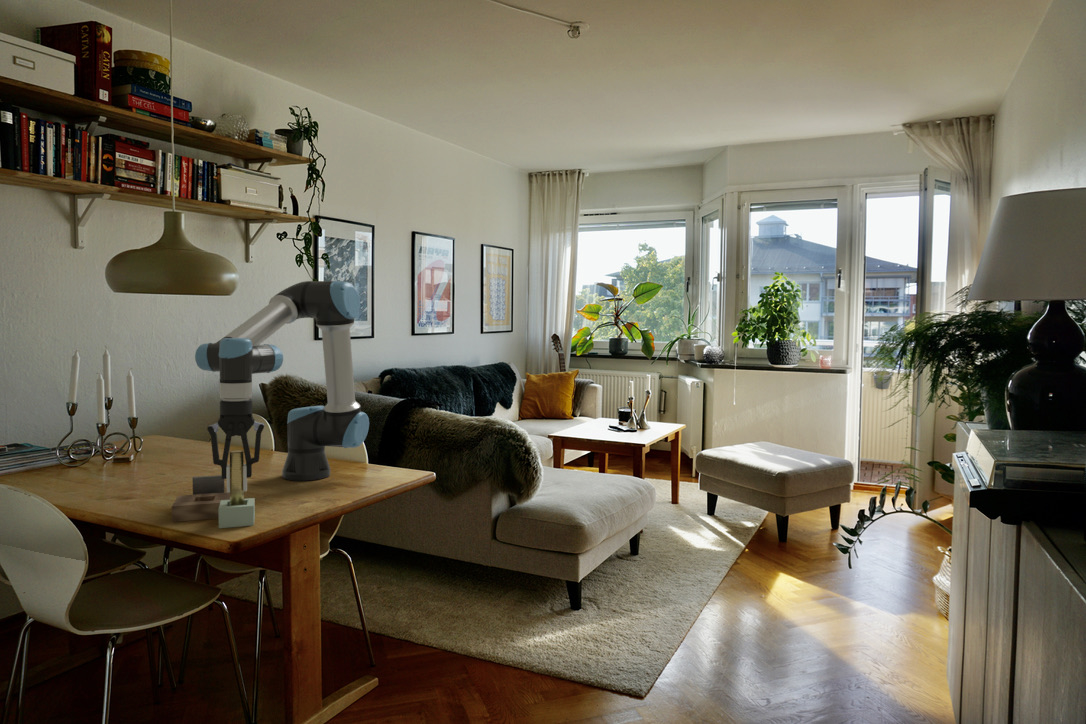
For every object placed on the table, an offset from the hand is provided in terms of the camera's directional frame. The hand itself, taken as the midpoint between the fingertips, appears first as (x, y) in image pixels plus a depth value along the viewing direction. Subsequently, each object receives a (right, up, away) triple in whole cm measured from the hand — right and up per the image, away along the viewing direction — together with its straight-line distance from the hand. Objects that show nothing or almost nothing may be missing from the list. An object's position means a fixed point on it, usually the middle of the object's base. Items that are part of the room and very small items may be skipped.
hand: (236, 490), depth 174 cm
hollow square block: (0, -8, 0) cm, 8 cm away
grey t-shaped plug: (-15, -7, +14) cm, 21 cm away
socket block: (-12, -8, +8) cm, 16 cm away
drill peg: (0, -6, 0) cm, 6 cm away
